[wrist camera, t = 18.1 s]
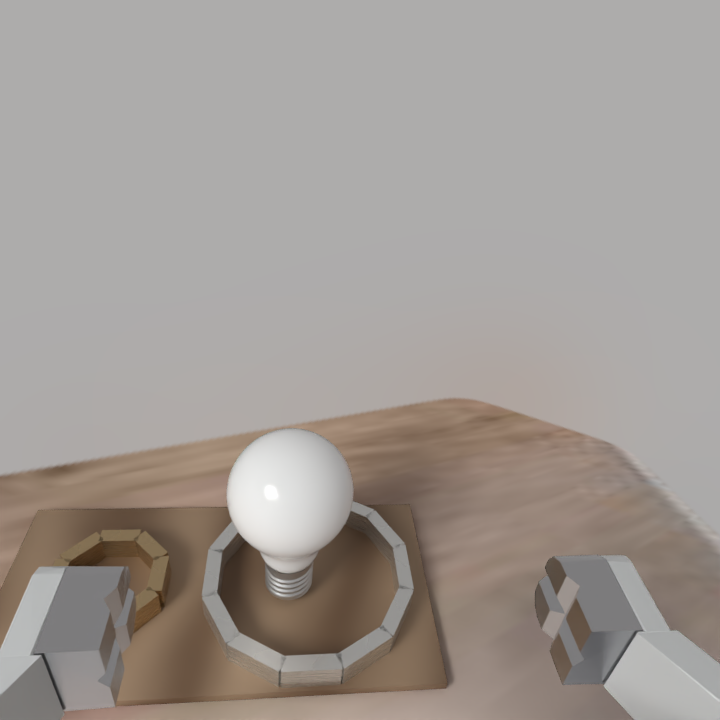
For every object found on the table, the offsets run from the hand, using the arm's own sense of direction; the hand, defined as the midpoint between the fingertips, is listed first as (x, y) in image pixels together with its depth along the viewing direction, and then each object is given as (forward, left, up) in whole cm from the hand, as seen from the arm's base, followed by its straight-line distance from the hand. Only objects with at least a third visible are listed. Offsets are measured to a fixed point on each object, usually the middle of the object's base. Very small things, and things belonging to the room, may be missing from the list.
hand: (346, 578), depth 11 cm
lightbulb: (-1, +14, -20) cm, 25 cm away
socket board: (-5, +14, -21) cm, 25 cm away
